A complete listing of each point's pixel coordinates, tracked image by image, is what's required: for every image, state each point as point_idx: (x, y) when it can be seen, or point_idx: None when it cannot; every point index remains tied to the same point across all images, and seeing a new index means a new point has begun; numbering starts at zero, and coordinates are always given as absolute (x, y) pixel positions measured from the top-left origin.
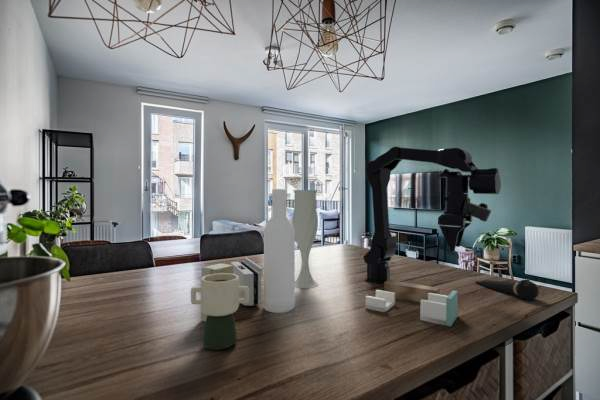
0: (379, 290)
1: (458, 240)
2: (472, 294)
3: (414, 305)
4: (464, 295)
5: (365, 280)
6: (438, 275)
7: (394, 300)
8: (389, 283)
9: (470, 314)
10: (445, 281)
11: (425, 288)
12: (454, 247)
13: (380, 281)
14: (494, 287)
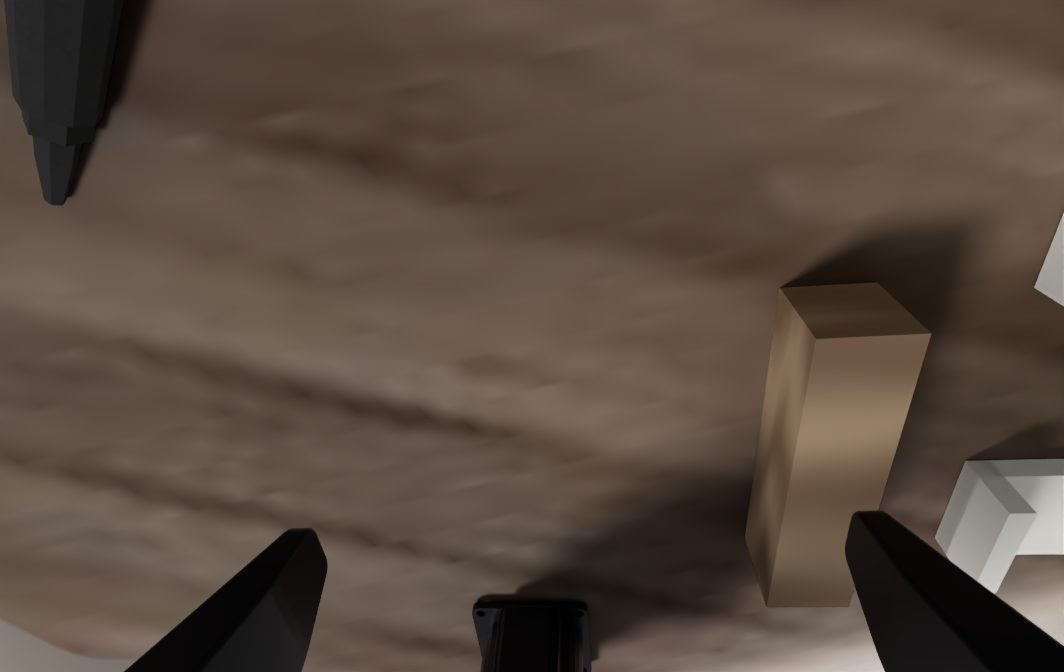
0: (985, 580)
1: (270, 638)
2: (426, 142)
3: (941, 380)
4: (501, 187)
5: (590, 666)
6: (113, 449)
7: (993, 478)
8: (851, 586)
9: (1020, 22)
10: (225, 380)
11: (887, 408)
12: (944, 561)
13: (577, 621)
14: (118, 8)
